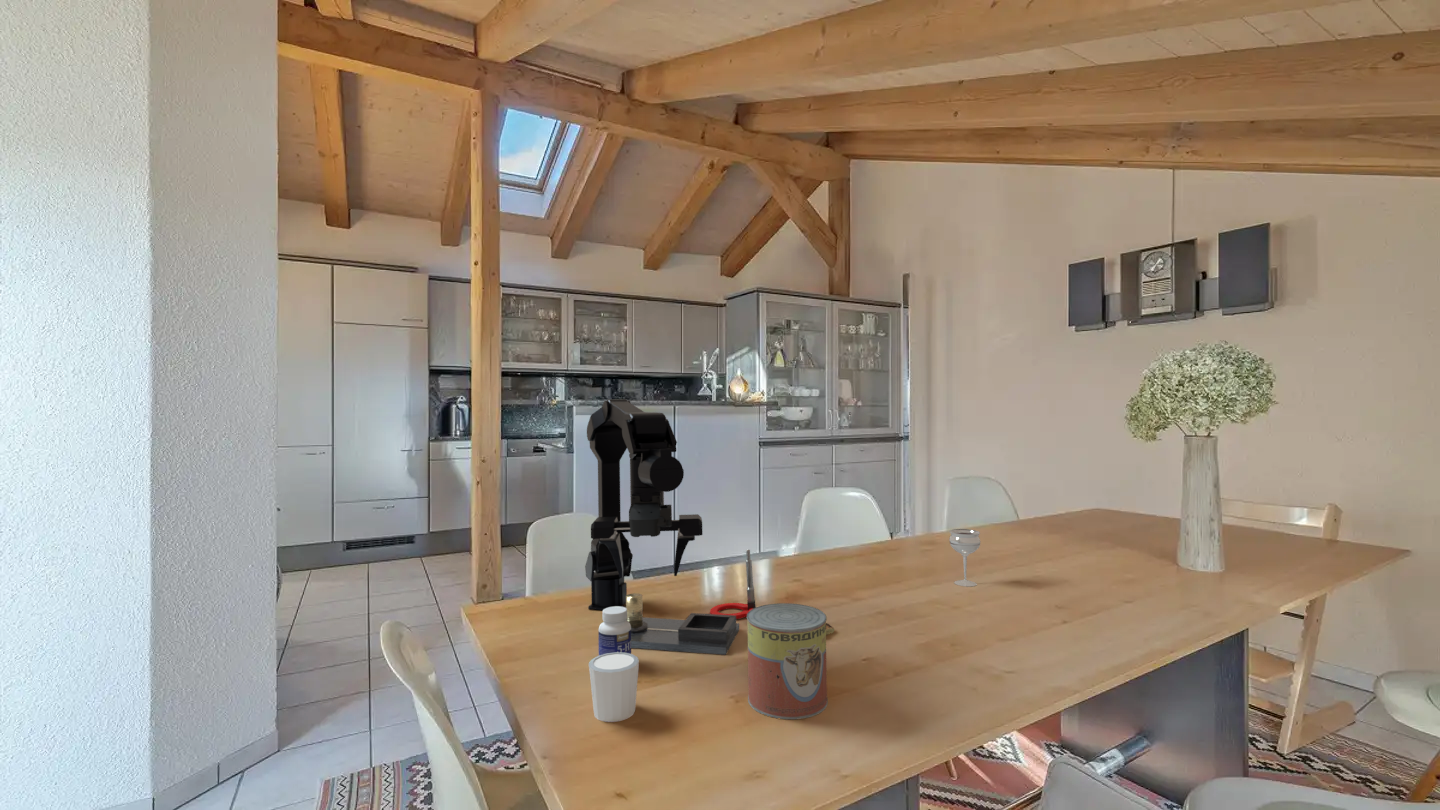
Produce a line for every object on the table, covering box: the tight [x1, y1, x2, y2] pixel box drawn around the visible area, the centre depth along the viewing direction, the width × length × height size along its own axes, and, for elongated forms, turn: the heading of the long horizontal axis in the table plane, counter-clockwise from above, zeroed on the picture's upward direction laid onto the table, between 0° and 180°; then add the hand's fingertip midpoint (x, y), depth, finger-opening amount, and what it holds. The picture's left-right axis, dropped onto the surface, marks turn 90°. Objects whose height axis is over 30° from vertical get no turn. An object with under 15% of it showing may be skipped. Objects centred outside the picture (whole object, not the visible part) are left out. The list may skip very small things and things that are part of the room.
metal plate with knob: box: [625, 592, 740, 656], centre depth 114 cm, size 23×12×7 cm, turn 77°
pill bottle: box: [598, 606, 632, 656], centre depth 102 cm, size 5×5×9 cm
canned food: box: [746, 602, 829, 720], centre depth 89 cm, size 11×11×12 cm
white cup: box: [588, 652, 640, 723], centre depth 86 cm, size 7×7×7 cm
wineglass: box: [949, 528, 981, 587], centre depth 145 cm, size 7×7×12 cm
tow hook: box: [709, 549, 757, 620], centre depth 126 cm, size 8×13×9 cm
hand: (648, 576), depth 107 cm, fingers open, 9 cm apart
